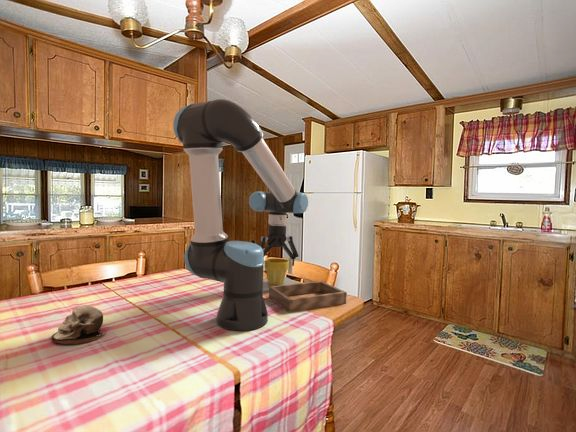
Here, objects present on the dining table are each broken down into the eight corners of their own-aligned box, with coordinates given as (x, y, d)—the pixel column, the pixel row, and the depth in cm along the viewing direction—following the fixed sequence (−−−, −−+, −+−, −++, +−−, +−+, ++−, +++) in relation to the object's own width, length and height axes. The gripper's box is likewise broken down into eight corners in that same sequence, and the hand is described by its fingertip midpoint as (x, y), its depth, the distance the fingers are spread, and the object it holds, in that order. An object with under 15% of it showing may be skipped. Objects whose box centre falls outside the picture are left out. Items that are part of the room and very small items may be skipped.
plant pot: (289, 280, 136) (290, 258, 136) (286, 287, 126) (287, 263, 125) (266, 279, 137) (266, 257, 137) (261, 285, 127) (262, 261, 126)
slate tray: (262, 293, 121) (262, 290, 121) (249, 283, 134) (249, 280, 134) (302, 288, 129) (302, 285, 129) (286, 279, 142) (286, 276, 142)
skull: (54, 349, 71) (49, 308, 76) (52, 364, 77) (48, 325, 82) (112, 333, 79) (105, 297, 84) (106, 348, 85) (100, 313, 90)
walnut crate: (289, 312, 102) (289, 300, 102) (268, 297, 116) (269, 286, 116) (346, 303, 113) (346, 292, 112) (321, 290, 127) (321, 280, 127)
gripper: (252, 225, 121) (251, 279, 122) (307, 225, 133) (305, 274, 134) (246, 224, 128) (244, 275, 129) (298, 223, 139) (297, 270, 141)
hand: (275, 274), depth 131 cm, fingers open, 13 cm apart
